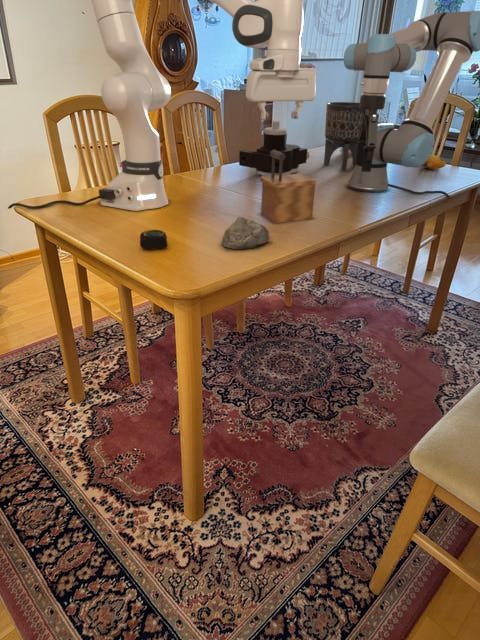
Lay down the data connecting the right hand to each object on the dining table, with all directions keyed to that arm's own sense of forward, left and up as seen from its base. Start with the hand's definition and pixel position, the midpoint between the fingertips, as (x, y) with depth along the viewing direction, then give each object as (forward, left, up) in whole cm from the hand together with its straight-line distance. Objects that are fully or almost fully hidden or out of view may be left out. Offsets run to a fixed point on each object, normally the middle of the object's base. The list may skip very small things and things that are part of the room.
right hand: (362, 167), depth 148 cm
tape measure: (+58, +46, -13) cm, 76 cm away
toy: (-44, -70, -13) cm, 84 cm away
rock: (+35, +40, -13) cm, 55 cm away
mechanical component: (+26, -47, -13) cm, 56 cm away
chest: (+24, +14, -13) cm, 31 cm away
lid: (+24, +14, -3) cm, 28 cm away
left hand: (+28, +16, +15) cm, 36 cm away
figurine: (-10, -99, -13) cm, 100 cm away
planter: (-3, -66, -13) cm, 67 cm away
